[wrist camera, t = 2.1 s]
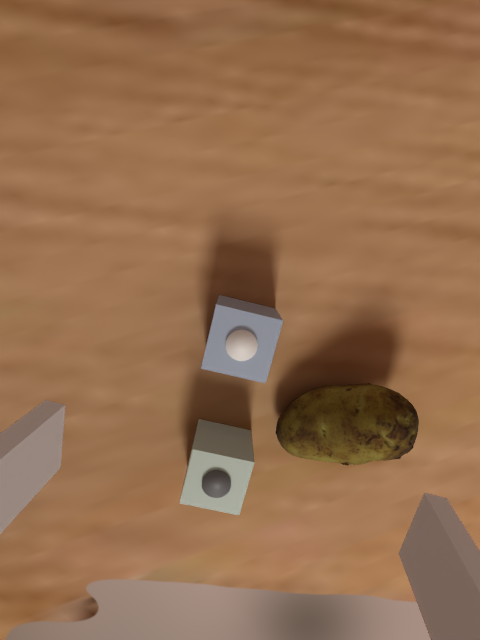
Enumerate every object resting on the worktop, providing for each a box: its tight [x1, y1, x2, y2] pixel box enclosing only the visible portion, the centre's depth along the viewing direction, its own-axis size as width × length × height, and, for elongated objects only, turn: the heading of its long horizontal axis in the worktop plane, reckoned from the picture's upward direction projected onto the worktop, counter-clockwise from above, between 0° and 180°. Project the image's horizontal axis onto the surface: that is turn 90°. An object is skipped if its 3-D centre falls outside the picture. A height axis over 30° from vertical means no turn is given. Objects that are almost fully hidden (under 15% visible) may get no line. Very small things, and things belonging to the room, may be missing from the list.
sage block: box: [180, 419, 254, 515], centre depth 37 cm, size 6×6×6 cm
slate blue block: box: [201, 295, 283, 383], centre depth 34 cm, size 6×6×6 cm
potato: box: [276, 383, 419, 465], centre depth 35 cm, size 8×13×8 cm, turn 88°
